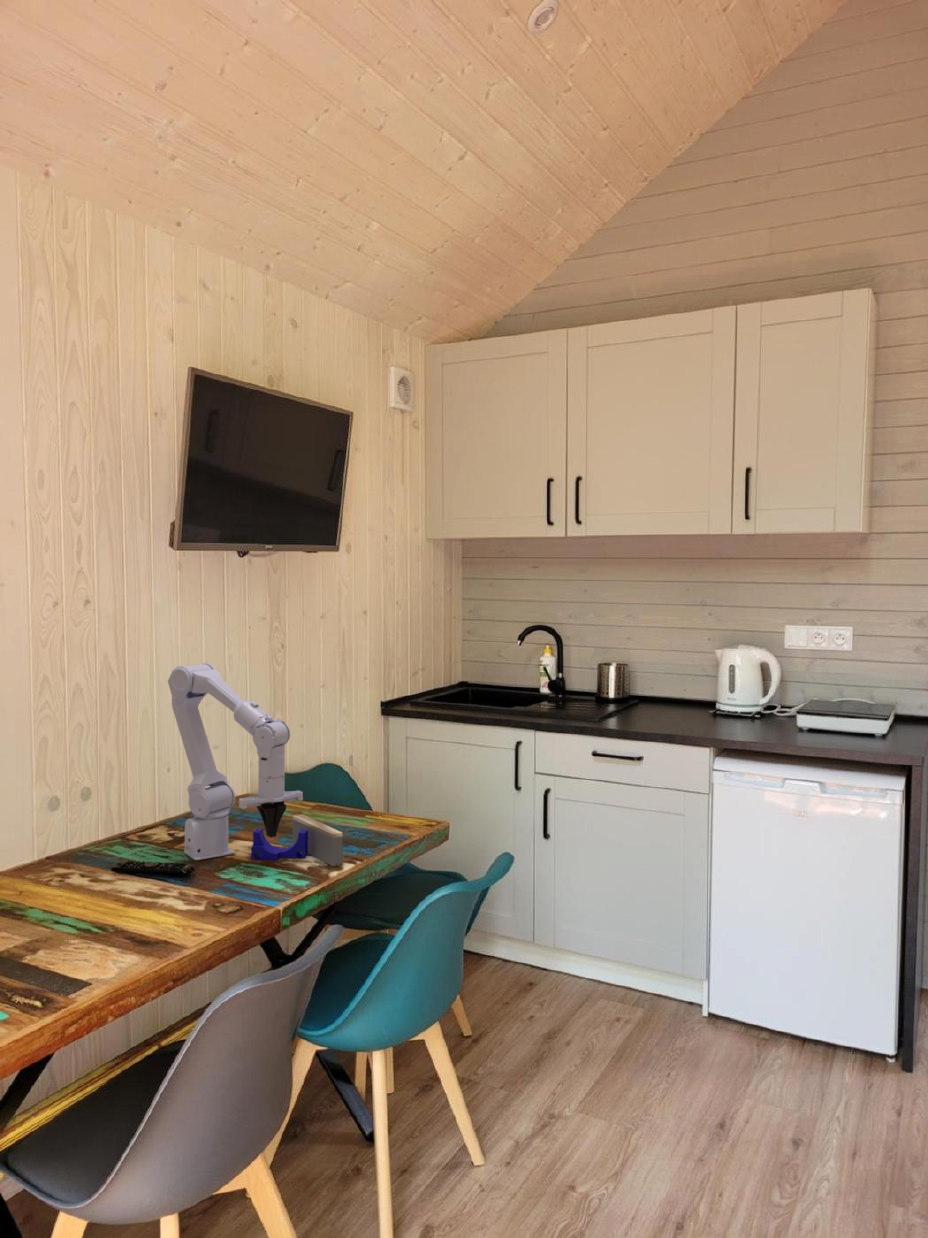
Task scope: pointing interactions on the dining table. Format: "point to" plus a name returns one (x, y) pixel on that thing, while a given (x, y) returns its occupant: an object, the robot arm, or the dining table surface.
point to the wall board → (320, 839)
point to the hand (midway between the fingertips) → (271, 836)
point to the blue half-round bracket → (269, 852)
